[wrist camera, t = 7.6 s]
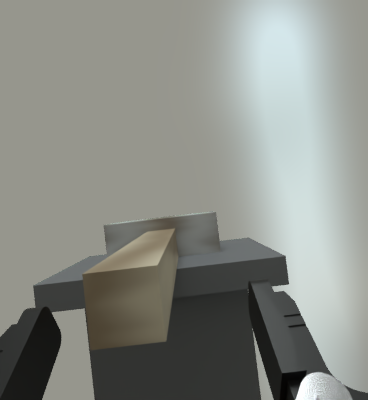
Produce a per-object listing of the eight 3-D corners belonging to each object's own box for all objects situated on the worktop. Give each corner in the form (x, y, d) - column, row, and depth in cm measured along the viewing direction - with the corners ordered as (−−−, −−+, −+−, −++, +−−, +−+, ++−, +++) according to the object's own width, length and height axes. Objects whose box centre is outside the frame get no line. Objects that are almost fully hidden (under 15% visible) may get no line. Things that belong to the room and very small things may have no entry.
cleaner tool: (-24, 363, 9) (-34, 257, 10) (118, 256, 29) (114, 222, 30) (280, 328, 9) (266, 221, 10) (215, 245, 29) (211, 211, 30)
